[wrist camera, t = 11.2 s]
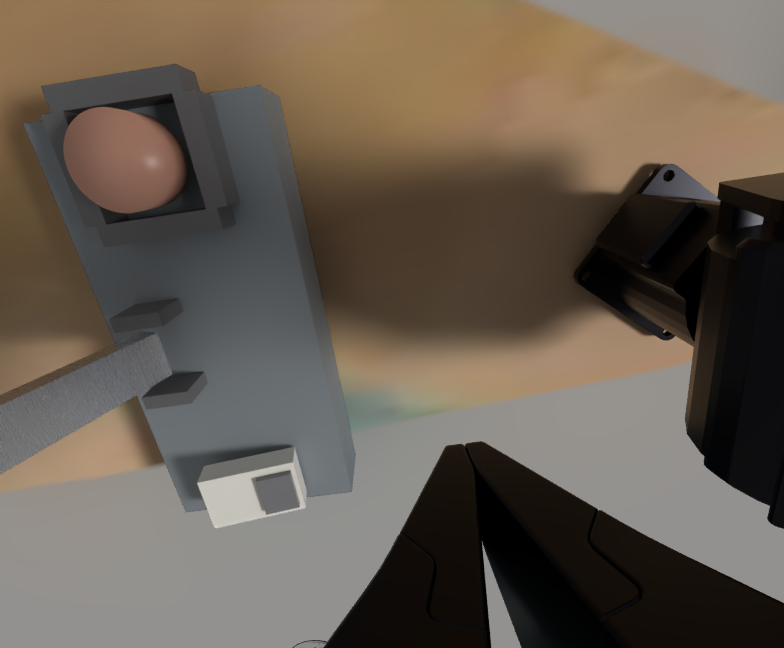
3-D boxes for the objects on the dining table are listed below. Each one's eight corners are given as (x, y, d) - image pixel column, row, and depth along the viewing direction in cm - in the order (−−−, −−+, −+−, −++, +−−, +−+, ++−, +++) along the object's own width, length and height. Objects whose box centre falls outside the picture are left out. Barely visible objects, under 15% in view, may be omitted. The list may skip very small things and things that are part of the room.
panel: (275, 78, 18) (238, 50, 13) (355, 454, 25) (348, 519, 20) (71, 111, 18) (-31, 95, 14) (207, 473, 25) (169, 540, 21)
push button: (170, 105, 14) (145, 99, 13) (199, 201, 16) (179, 205, 14) (80, 120, 15) (46, 115, 13) (115, 213, 16) (87, 219, 14)
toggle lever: (166, 328, 17) (-367, 577, 8) (185, 379, 18) (-275, 660, 9) (129, 326, 18) (-382, 544, 9) (148, 375, 19) (-299, 622, 10)
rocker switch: (294, 446, 21) (292, 466, 19) (306, 490, 22) (305, 512, 20) (203, 466, 20) (195, 487, 19) (220, 509, 21) (213, 533, 20)
